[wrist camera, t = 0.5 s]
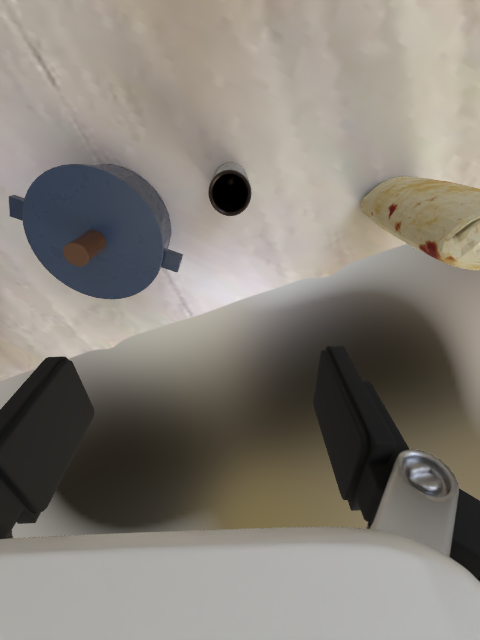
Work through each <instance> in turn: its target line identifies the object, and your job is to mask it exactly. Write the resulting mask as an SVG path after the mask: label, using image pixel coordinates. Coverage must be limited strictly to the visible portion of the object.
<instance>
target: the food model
mask: <svg viewBox="0 0 480 640" xmlns="http://www.w3.org/2000/svg"><path fill="white" fill-rule="evenodd" d="M361 209H362V211H363V212H364V213H365V214H366V215H367V216H368V217H369V218H370V219H372V220H373V221H374V222H375V223H376V224H377V225H379V226H380V227H382V228H383V229H385V230H386V231H388V232H389V233H391V234H392V235H394V236H395V237H397V238H399V239H400V240H402V241H404V242H405V243H407V244H409V245H411V246H412V247H414V248H416V249H418V250H420V251H422V252H424V253H426V254H428V255H430V256H432V257H434V258H436V259H438V260H440V261H442V262H444V263H447V264H449V265H452V266H454V267H458V268H464V269H470V270H480V189H478V188H473V187H469V186H465V185H461V184H457V183H451V182H446V181H438V180H432V179H426V178H418V177H407V176H401V177H396V178H392V179H389V180H386V181H384V182H382V183H380V184H379V185H378V186H376V187H375V188H374V189H373V190H372V191H371V192H369V193H368V194H367V195H366V196H365V197H364V198H363V200H362V202H361Z"/></svg>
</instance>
